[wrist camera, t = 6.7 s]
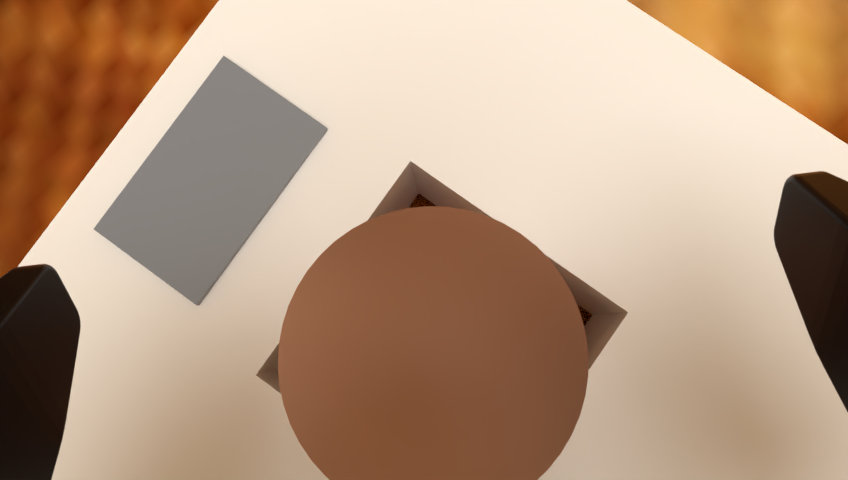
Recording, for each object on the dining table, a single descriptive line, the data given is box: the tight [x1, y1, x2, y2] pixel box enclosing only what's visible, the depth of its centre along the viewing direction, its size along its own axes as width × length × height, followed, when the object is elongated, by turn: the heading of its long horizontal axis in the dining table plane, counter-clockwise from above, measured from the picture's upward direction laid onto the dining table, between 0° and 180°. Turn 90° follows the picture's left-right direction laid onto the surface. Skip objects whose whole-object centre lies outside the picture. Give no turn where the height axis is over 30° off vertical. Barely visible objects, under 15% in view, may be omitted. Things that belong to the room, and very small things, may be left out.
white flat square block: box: [18, 0, 848, 480], centre depth 20 cm, size 18×18×5 cm
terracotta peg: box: [278, 206, 588, 480], centre depth 16 cm, size 4×4×12 cm
